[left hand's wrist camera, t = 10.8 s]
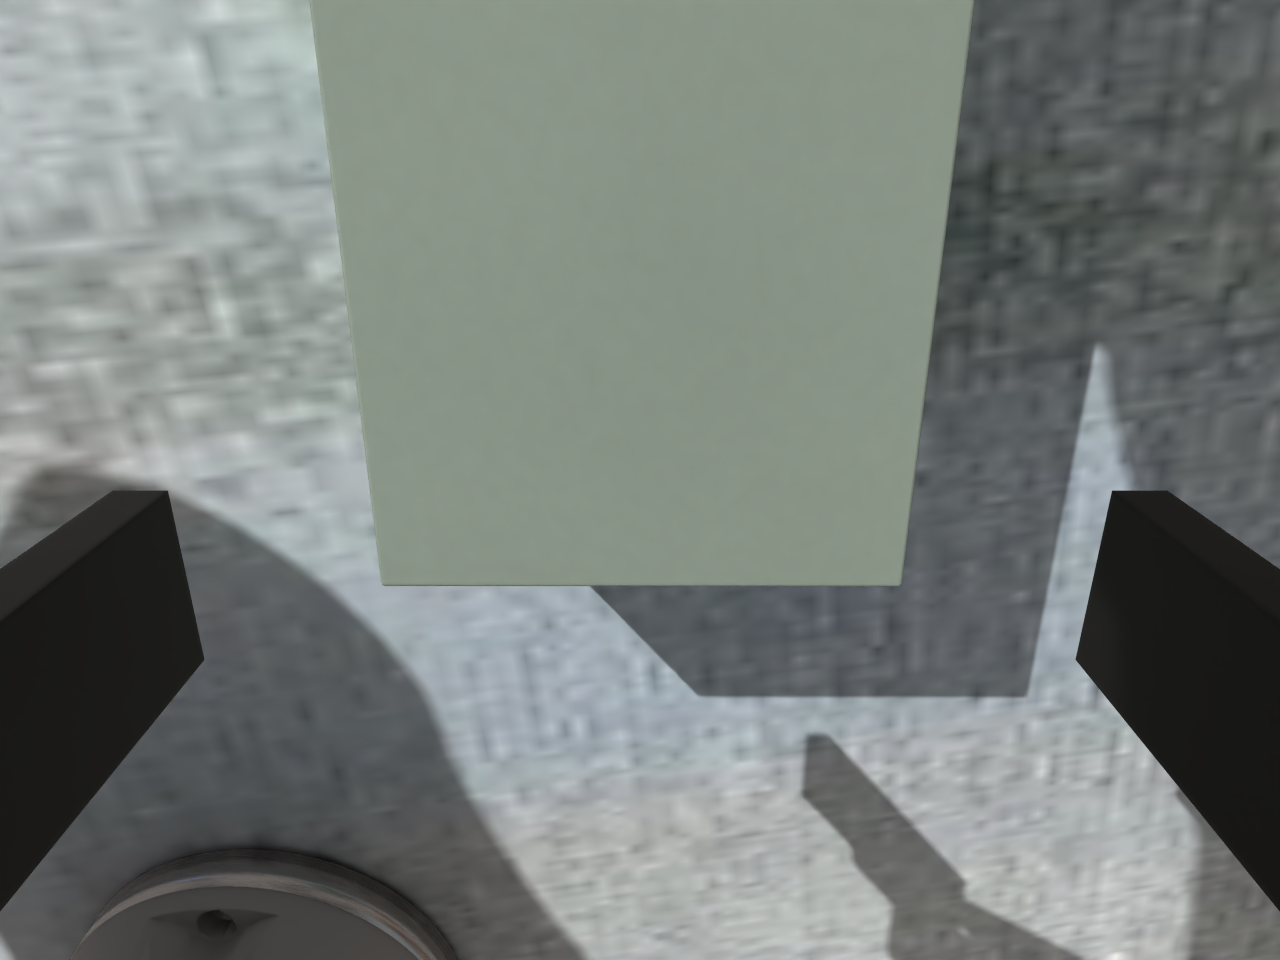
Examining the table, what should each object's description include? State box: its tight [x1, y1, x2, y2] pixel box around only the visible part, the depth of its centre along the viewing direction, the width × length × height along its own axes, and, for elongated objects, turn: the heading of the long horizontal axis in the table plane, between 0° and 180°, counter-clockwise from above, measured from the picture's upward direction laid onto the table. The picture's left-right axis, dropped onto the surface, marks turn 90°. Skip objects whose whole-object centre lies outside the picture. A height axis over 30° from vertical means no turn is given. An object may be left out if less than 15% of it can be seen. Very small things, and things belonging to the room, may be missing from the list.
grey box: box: [310, 0, 975, 586], centre depth 20 cm, size 19×11×8 cm, turn 0°
